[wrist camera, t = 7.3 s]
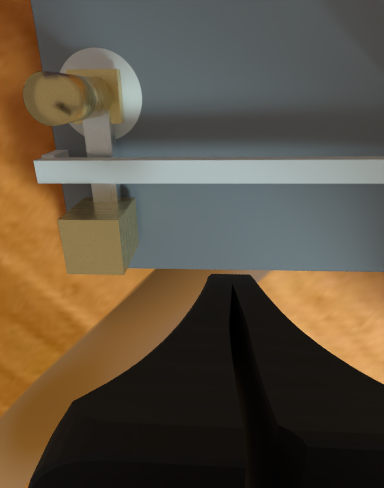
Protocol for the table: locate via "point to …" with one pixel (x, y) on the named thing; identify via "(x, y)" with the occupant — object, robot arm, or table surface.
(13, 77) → the table surface
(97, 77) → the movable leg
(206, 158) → the gauge board
